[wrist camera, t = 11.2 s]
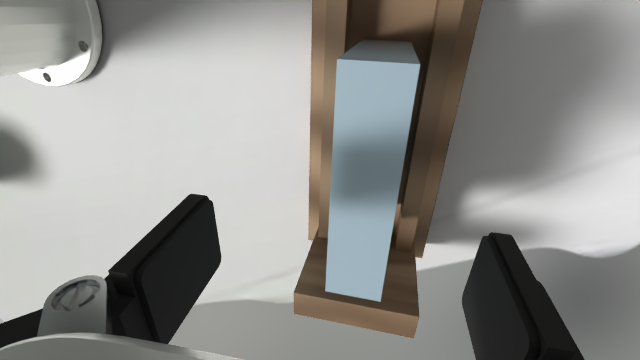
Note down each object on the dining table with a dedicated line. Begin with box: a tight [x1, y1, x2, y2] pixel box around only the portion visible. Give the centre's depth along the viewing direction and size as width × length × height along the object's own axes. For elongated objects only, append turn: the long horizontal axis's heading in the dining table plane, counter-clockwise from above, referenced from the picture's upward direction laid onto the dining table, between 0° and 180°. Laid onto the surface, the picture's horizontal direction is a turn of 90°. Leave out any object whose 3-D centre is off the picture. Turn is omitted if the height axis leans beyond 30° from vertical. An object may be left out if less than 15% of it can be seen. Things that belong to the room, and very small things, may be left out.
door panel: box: [325, 39, 420, 302], centre depth 19 cm, size 12×3×10 cm, turn 178°
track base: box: [294, 0, 483, 338], centre depth 20 cm, size 22×10×10 cm, turn 178°
